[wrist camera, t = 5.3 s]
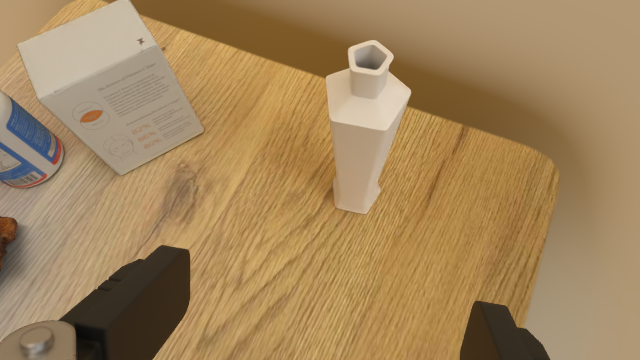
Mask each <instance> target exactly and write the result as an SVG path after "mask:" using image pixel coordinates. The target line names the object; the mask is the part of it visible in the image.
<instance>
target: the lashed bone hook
mask: <svg viewBox="0 0 640 360" xmlns="http://www.w3.org/2000/svg"><path fill="white" fill-rule="evenodd" d="M16 230H17V222H16V220H15V219H14V218H9V217H0V270H1V268H2V260H3V257H4V256H5V255H6V254H7V251H6V249H5V247H6V246H7V245H8V244H9V243H10V242H11V241H13V240H15V233H16Z"/></svg>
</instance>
